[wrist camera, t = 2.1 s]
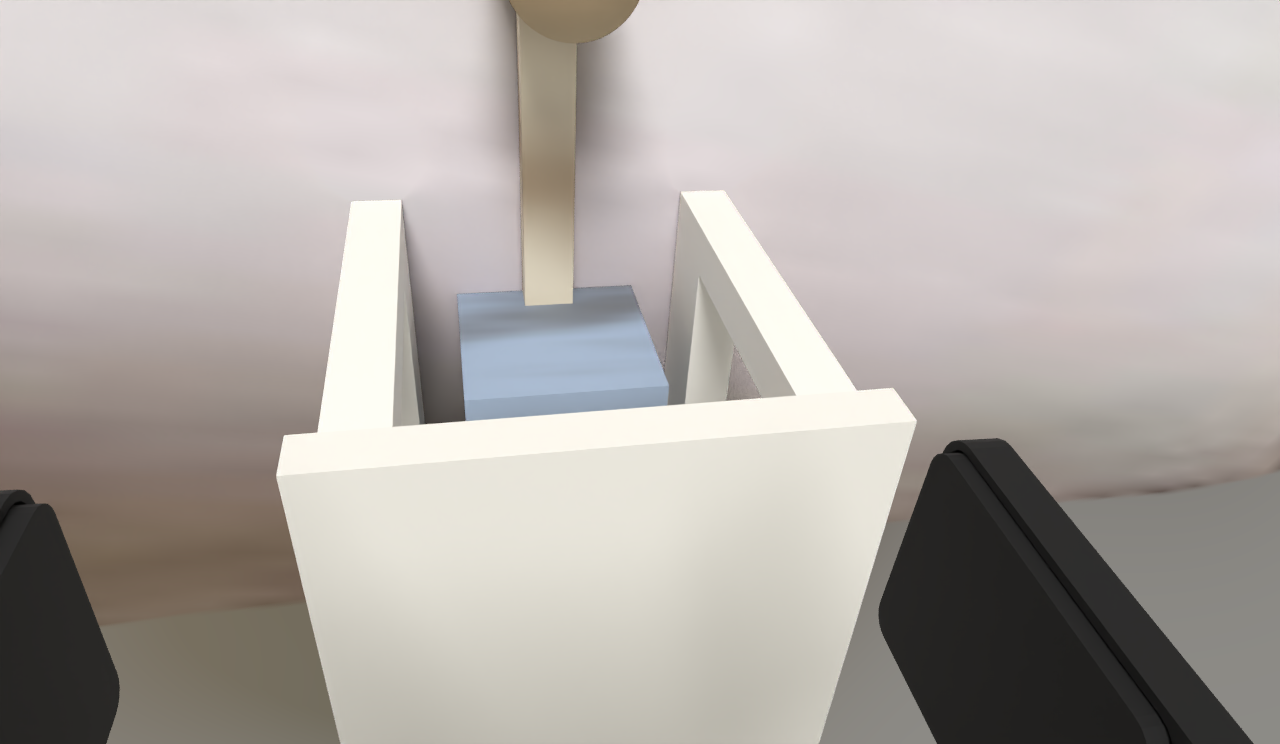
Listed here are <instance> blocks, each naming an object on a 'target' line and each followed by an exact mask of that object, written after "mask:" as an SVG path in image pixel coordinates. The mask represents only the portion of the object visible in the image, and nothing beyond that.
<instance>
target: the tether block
mask: <svg viewBox="0 0 1280 744" xmlns="http://www.w3.org/2000/svg"><path fill="white" fill-rule="evenodd" d="M509 1H510V3H511V5H512V7H513V8H514V10H515V11H516V17H517V63H518V109H519V155H520V201H521V247H522V291H510V292H490V293H470V294H457V298H458V313H459V328H460V343H461V358H462V373H463V388H464V403H465V417H466V421H475V420H488V419H501V418H514V417H527V416H540V415H553V414H565V413H578V412H591V411H604V410H617V409H630V408H643V407H656V406H667V402H668V392H669V384H668V382H667V379H666V376H665V374H664V371H663V368H662V366H661V363H660V361H659V358H658V355H657V353H656V350H655V347H654V345H653V342H652V340H651V337H650V334H649V332H648V329H647V326H646V324H645V321H644V319H643V316H642V313H641V311H640V308H639V305H638V303H637V300H636V298H635V295H634V292H633V290H632V287H631V285H629V286H610V287H590V288H573V255H574V193H575V132H576V70H577V43H585V42H590V41H594V40H597V39H600V38H602V37H604V36H606V35H608V34H610V33H611V32H613V31H614V30H616V29H617V28H618V27H619V26H621V25H622V24H623V23H624V22H625V21H626V20H627V18H628V17H629V16H630V15H631V14H632V12H633V11H634V9H635V8H636V6H637V4H638V2H639V0H509Z"/></svg>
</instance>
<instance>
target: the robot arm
mask: <svg viewBox="0 0 1280 744" xmlns="http://www.w3.org/2000/svg"><path fill="white" fill-rule="evenodd" d="M879 624H880V628H881V631H882V634H883V636H884V638H885V640H886V642H887V644H888V646H889V648H890V650H891V652H892V654H893V656H894V658H895V660H896V662H897V664H898V666H899V668H900V670H901V672H902V674H903V676H904V678H905V680H906V682H907V684H908V686H909V688H910V690H911V692H912V694H913V696H914V698H915V700H916V702H917V704H918V706H919V708H920V710H921V712H922V714H923V716H924V718H925V720H926V722H927V724H928V726H929V728H930V730H931V732H932V734H933V736H934V738H935V740H936V742H937V744H1253V742H1252V741H1251V740H1250V739H1249V738H1248V736H1247V735H1246V734H1245V733H1244V731H1243V730H1242V729H1241V728H1240V726H1239V725H1238V724H1237V723H1236V722H1235V721H1234V719H1233V718H1232V717H1231V715H1230V714H1229V713H1228V712H1227V711H1226V709H1225V708H1224V707H1223V706H1222V704H1221V703H1220V702H1219V701H1218V699H1217V698H1216V697H1215V696H1214V695H1213V694H1212V692H1211V691H1210V690H1209V689H1208V687H1207V686H1206V685H1205V684H1204V682H1203V681H1202V680H1201V679H1200V677H1199V676H1198V675H1197V674H1196V672H1195V671H1194V670H1193V669H1192V668H1191V666H1190V665H1189V664H1188V663H1187V662H1186V660H1185V659H1184V658H1183V657H1182V655H1181V654H1180V653H1179V652H1178V651H1177V649H1176V648H1175V647H1174V646H1173V644H1172V643H1171V642H1170V641H1169V639H1168V638H1167V637H1166V636H1165V635H1164V633H1163V632H1162V631H1161V630H1160V629H1159V627H1158V626H1157V625H1156V623H1155V622H1154V621H1153V620H1152V619H1151V617H1150V616H1149V615H1148V614H1147V612H1146V611H1145V610H1144V609H1143V608H1142V606H1141V605H1140V604H1139V603H1138V601H1137V600H1136V599H1135V598H1134V596H1133V595H1132V594H1131V593H1130V592H1129V590H1128V589H1127V588H1126V587H1125V585H1124V584H1123V583H1122V582H1121V581H1120V579H1119V578H1118V577H1117V576H1116V574H1115V573H1114V572H1113V571H1112V569H1111V568H1110V567H1109V566H1108V565H1107V563H1106V562H1105V561H1104V560H1103V559H1102V557H1101V556H1100V555H1099V554H1098V553H1097V551H1096V550H1095V549H1094V548H1093V546H1092V545H1091V544H1090V543H1089V541H1088V540H1087V539H1086V538H1085V536H1084V535H1083V534H1082V533H1081V532H1080V530H1079V529H1078V528H1077V527H1076V525H1075V524H1074V523H1073V522H1072V520H1071V519H1070V518H1069V517H1068V516H1067V514H1066V513H1065V512H1064V511H1063V509H1062V508H1061V507H1060V506H1059V504H1058V503H1057V502H1056V501H1055V500H1054V498H1053V497H1052V496H1051V495H1050V493H1049V492H1048V491H1047V490H1046V489H1045V487H1044V486H1043V485H1042V484H1041V482H1040V481H1039V480H1038V479H1037V478H1036V476H1035V475H1034V474H1033V473H1032V471H1031V470H1030V469H1029V468H1028V466H1027V465H1026V464H1025V463H1024V462H1023V460H1022V459H1021V458H1020V457H1019V455H1018V454H1017V453H1016V452H1015V451H1014V449H1013V448H1012V447H1011V446H1010V445H1009V444H1008V443H1007V442H1006V441H1004V440H1001V439H998V438H996V439H977V440H958V441H952V442H951V443H949V444H948V445H947V446H946V448H945V450H944V452H943V453H942V454H937V455H936V456H935V457H934V458H933V460H932V462H931V464H930V467H929V470H928V472H927V475H926V478H925V481H924V483H923V486H922V489H921V492H920V494H919V497H918V500H917V503H916V505H915V508H914V511H913V514H912V516H911V519H910V522H909V525H908V528H907V530H906V533H905V536H904V538H903V541H902V544H901V547H900V550H899V552H898V555H897V558H896V561H895V563H894V566H893V569H892V571H891V574H890V577H889V580H888V582H887V585H886V588H885V591H884V594H883V596H882V599H881V602H880V606H879ZM119 688H120V687H119V678H118V675H117V671H116V669H115V666H114V664H113V662H112V659H111V656H110V653H109V651H108V648H107V646H106V643H105V641H104V638H103V635H102V633H101V630H100V628H99V625H98V623H97V620H96V617H95V615H94V612H93V610H92V607H91V604H90V602H89V599H88V597H87V594H86V592H85V589H84V586H83V584H82V581H81V579H80V576H79V574H78V571H77V568H76V566H75V563H74V561H73V558H72V556H71V553H70V550H69V548H68V545H67V543H66V540H65V537H64V535H63V532H62V530H61V527H60V525H59V522H58V519H57V517H56V514H55V512H54V510H53V509H52V507H51V506H50V505H48V504H35V502H34V501H33V499H32V497H31V495H30V494H28V493H27V492H26V491H25V490H4V491H0V744H106V743H107V740H108V736H109V733H110V730H111V727H112V724H113V721H114V718H115V715H116V712H117V707H118V702H119Z"/></svg>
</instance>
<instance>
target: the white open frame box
mask: <svg viewBox="0 0 1280 744" xmlns="http://www.w3.org/2000/svg"><path fill="white" fill-rule="evenodd" d="M734 344H735V346H736V348H737V350H738V352H739V354H740V356H741V358H742V360H743V362H744V364H745V366H746V368H747V370H748V372H749V374H750V376H751V378H752V380H753V381H754V383H755V385H756V387H757V389H758V391H759V393H760V395H761V397H762V398H759V399H746V400H733V401H726V399H727V392H728V385H729V378H730V371H731V364H732V357H733V350H734ZM664 374H665V376H666V379H667V382H668V384H669V392H668V402H667V406H656V407H643V408H630V409H617V410H604V411H591V412H578V413H565V414H553V415H540V416H527V417H514V418H501V419H488V420H475V421H462V422H450V423H437V424H425V418H424V409H423V399H422V390H421V380H420V371H419V361H418V352H417V342H416V333H415V323H414V314H413V304H412V295H411V286H410V276H409V267H408V257H407V248H406V238H405V229H404V219H403V210H402V200H378V201H351V208H350V215H349V221H348V228H347V235H346V242H345V249H344V256H343V262H342V269H341V276H340V283H339V290H338V297H337V303H336V310H335V317H334V324H333V331H332V338H331V344H330V351H329V358H328V365H327V372H326V379H325V385H324V392H323V399H322V406H321V413H320V420H319V426H318V433H308V434H295V435H284V438H283V444H282V449H281V454H280V459H279V464H278V469H277V475H276V477H277V481H278V486H279V490H280V494H281V498H282V502H283V506H284V511H285V515H286V519H287V523H288V527H289V531H290V536H291V540H292V544H293V548H294V552H295V556H296V560H297V565H298V569H299V573H300V577H301V581H302V585H303V590H304V594H305V598H306V602H307V606H308V610H309V614H310V619H311V623H312V627H313V631H314V635H315V639H316V644H317V647H318V652H319V656H320V660H321V664H322V669H323V673H324V677H325V681H326V685H327V689H328V694H329V698H330V702H331V706H332V710H333V714H334V719H335V723H336V727H337V731H338V735H339V739H340V744H819V741H820V738H821V735H822V731H823V728H824V725H825V721H826V718H827V715H828V711H829V708H830V705H831V702H832V698H833V695H834V691H835V689H836V685H837V682H838V679H839V675H840V672H841V669H842V665H843V662H844V659H845V656H846V652H847V649H848V645H849V643H850V639H851V636H852V633H853V629H854V626H855V623H856V620H857V616H858V613H859V610H860V606H861V603H862V600H863V597H864V593H865V590H866V587H867V583H868V580H869V577H870V574H871V570H872V567H873V563H874V560H875V557H876V554H877V551H878V547H879V544H880V541H881V537H882V534H883V531H884V528H885V524H886V521H887V518H888V514H889V511H890V508H891V505H892V501H893V498H894V495H895V491H896V488H897V485H898V482H899V478H900V475H901V472H902V468H903V465H904V462H905V459H906V455H907V452H908V449H909V445H910V442H911V439H912V436H913V432H914V429H915V426H916V422H917V420H916V419H915V418H914V416H913V415H912V413H911V412H910V411H909V409H908V408H907V407H906V405H905V404H904V402H903V401H902V400H901V398H900V397H899V395H898V394H897V393H896V391H895V390H894V389H893V388H887V389H875V390H862V391H857V390H856V388H855V387H854V385H853V384H852V382H851V381H850V379H849V378H848V376H847V375H846V373H845V372H844V370H843V369H842V367H841V366H840V364H839V363H838V361H837V360H836V358H835V357H834V355H833V354H832V352H831V351H830V349H829V348H828V346H827V345H826V343H825V342H824V340H823V339H822V337H821V336H820V334H819V333H818V331H817V330H816V328H815V327H814V325H813V324H812V322H811V321H810V319H809V318H808V316H807V315H806V313H805V312H804V310H803V309H802V307H801V306H800V304H799V303H798V301H797V300H796V298H795V297H794V295H793V294H792V292H791V291H790V289H789V288H788V286H787V284H786V283H785V281H784V280H783V278H782V277H781V275H780V274H779V272H778V271H777V269H776V268H775V266H774V265H773V263H772V262H771V260H770V259H769V257H768V256H767V254H766V253H765V251H764V250H763V248H762V247H761V245H760V244H759V242H758V241H757V239H756V238H755V236H754V235H753V233H752V232H751V230H750V229H749V227H748V226H747V224H746V223H745V221H744V220H743V218H742V217H741V215H740V214H739V212H738V211H737V209H736V208H735V206H734V205H733V203H732V202H731V200H730V199H729V197H728V196H727V194H726V193H725V191H724V190H719V191H685V192H681V194H680V205H679V216H678V227H677V238H676V249H675V260H674V271H673V282H672V293H671V304H670V316H669V327H668V338H667V349H666V360H665V371H664Z"/></svg>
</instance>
